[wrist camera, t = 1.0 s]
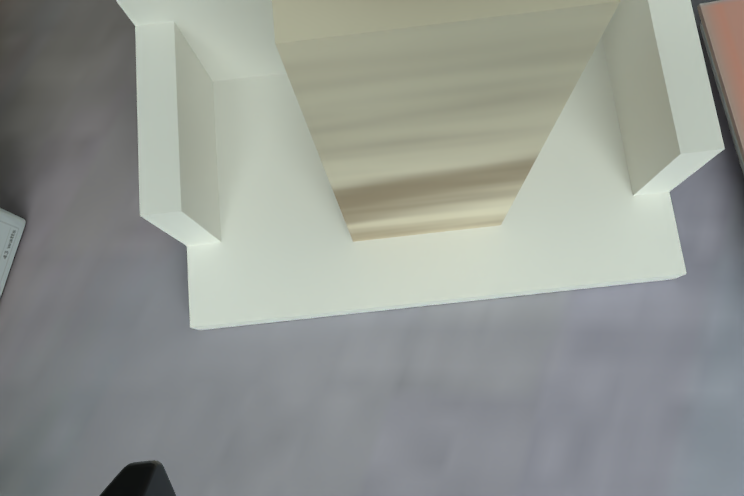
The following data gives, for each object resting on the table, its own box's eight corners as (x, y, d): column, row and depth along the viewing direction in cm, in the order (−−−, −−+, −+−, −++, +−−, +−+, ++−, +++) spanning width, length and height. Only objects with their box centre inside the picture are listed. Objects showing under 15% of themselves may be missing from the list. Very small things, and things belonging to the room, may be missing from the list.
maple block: (500, 225, 22) (620, 1, 9) (353, 241, 22) (275, 44, 10) (480, 88, 23) (563, -278, 11) (339, 105, 23) (254, -235, 11)
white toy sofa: (674, 278, 22) (844, 206, 14) (199, 330, 23) (68, 292, 14) (620, 15, 25) (737, -194, 16) (188, 68, 25) (68, -105, 16)
